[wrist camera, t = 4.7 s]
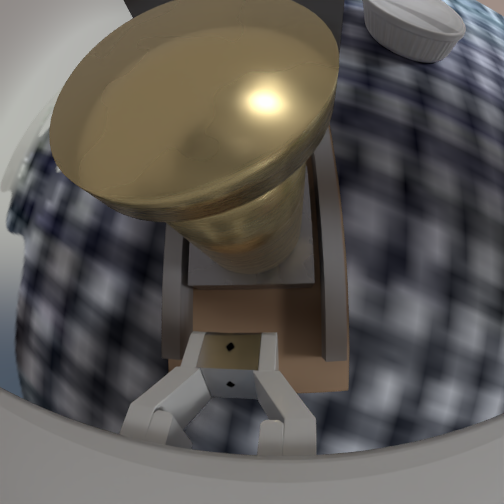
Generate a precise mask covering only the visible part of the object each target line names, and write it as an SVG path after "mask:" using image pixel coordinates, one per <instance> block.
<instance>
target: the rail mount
mask: <svg viewBox="0 0 504 504" xmlns="http://www.w3.org/2000/svg"><path fill="white" fill-rule="evenodd" d="M170 1H173V0H124V2H125V4H126V6H127V8H128V9H129V11H130V13H131V15H132V17H133V18H135V17H136V16H138V15H140V14H142V13H144V12H146V11H148V10H150V9H152V8H155V7H157V6H160V5H162V4H165V3H167V2H170ZM292 1H294V2H296V3H298V4H300V5H302V6H304V7H306V8H307V9H309V10H310V11H312V12H313V13H315V14H316V15H317V16H318V17H319V18H320V19H321V20H323V21H324V23H325V24H326V25H327V26H328V28H329V29H330V30H331V32H332V34H333V36H334V38H335V40H336V42H337V47H338V51H340V42H341V32H342V21H343V10H344V0H292ZM306 166H307V172H308V183H309V195H310V208H311V222H312V238H313V256H314V279H315V283H314V285H313V286H312V288H286V289H238V290H199V289H197V288H194V287H191V286H188V267H189V244H190V242H189V241H188V240H187V239H186V238H184V237H183V236H182V235H181V234H179V233H178V232H177V231H176V230H174V229H173V228H172V227H171V226H169V225H168V224H167V223H166V234H165V248H164V265H163V287H162V358H164V359H168V367H169V372H170V371H172V370H173V369H174V368H175V367H176V366H177V367H180V366H181V363H182V359H183V356H184V353H185V350H186V347H187V344H188V341H189V338H190V335H191V333H192V332H193V331H198V332H220V333H273V332H276V333H277V335H278V360H279V370H278V371H280V372H281V373H282V375H283V376H284V377H285V379H286V380H287V381H288V383H289V384H290V385H291V387H292V388H293V389H294V391H295V392H296V393H317V392H334V391H347V390H348V385H349V306H348V282H347V265H346V251H345V238H344V227H343V217H342V207H341V199H340V190H339V182H338V175H337V168H336V161H335V154H334V148H333V141H332V135H331V130H330V124H329V126H328V129H327V131H326V133H325V135H324V137H323V139H322V141H321V142H320V144H319V145H318V147H317V148H316V150H315V151H314V153H313V154H312V155H311V156H310V157H309V159H308V160H307V161H306Z"/></svg>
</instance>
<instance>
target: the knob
mask: <svg viewBox="0 0 504 504" xmlns="http://www.w3.org/2000/svg"><path fill="white" fill-rule="evenodd" d="M338 71H339V51H338V47H337V42H336V40H335V38H334V36H333V34H332V32H331V30H330V29H329V28H328V26H327V25H326V24H325V23H324V21H323V20H321V19H320V18H319V17H318V16H317V15H316V14H315V13H313V12H312V11H310V10H309V9H307V8H306V7H304V6H302V5H300V4H298V3H296V2H294V1H292V0H173V1H170V2H167V3H165V4H162V5H160V6H157V7H155V8H152V9H150V10H148V11H146V12H144V13H142V14H140V15H138V16H136V17H135V18H133V19H131V20H130V21H128V22H126V23H125V24H123V25H122V26H120V27H119V28H117V29H116V30H114V31H113V32H112V33H110V34H109V35H108V36H107V37H105V38H104V39H103V40H102V41H101V42H99V43H98V44H97V45H96V46H95V47H94V48H93V49H92V50H91V51H90V52H89V53H88V54H87V55H86V56H85V57H84V58H83V60H82V61H81V62H80V63H79V64H78V66H77V67H76V68H75V69H74V71H73V72H72V74H71V75H70V77H69V78H68V80H67V81H66V83H65V85H64V87H63V88H62V90H61V92H60V94H59V97H58V99H57V101H56V104H55V107H54V110H53V114H52V117H51V123H50V146H51V151H52V155H53V157H54V160H55V162H56V164H57V166H58V167H59V169H60V170H61V171H62V173H63V174H64V175H65V176H66V177H67V178H69V179H70V180H71V181H72V182H73V183H75V184H76V185H78V186H79V187H80V188H82V189H83V190H85V191H86V192H88V193H89V194H91V195H92V196H94V197H95V198H96V199H98V200H99V201H101V202H102V203H104V204H105V205H107V206H108V207H110V208H111V209H113V210H115V211H117V212H119V213H121V214H123V215H126V216H130V217H133V218H136V219H139V220H146V221H154V222H166V223H167V224H168V225H169V226H171V227H172V228H173V229H174V230H176V231H177V232H178V233H179V234H181V235H182V236H183V237H184V238H186V239H187V240H188V241H189V242H190V244H189V267H188V286H191V287H194V288H197V289H199V290H238V289H286V288H312V286H313V285H314V283H315V279H314V256H313V238H312V222H311V208H310V195H309V183H308V172H307V166H306V161H307V160H308V159H309V157H310V156H311V155H312V154H313V153H314V151H315V150H316V148H317V147H318V145H319V144H320V142H321V141H322V139H323V137H324V135H325V133H326V131H327V129H328V126H329V124H330V120H331V116H332V112H333V107H334V100H335V93H336V86H337V78H338Z"/></svg>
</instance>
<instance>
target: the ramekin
mask: <svg viewBox="0 0 504 504" xmlns="http://www.w3.org/2000/svg"><path fill="white" fill-rule="evenodd" d="M362 1H363V8H364V20H365V25H366V27H367V30H368V31H369V33H370V34H371V35H372V37H373V38H374V39H375V40H376V41H377V42H378V43H380V44H381V45H382V46H384V47H385V48H387V49H388V50H390V51H392V52H394V53H396V54H398V55H400V56H403V57H405V58H408V59H411V60H414V61H419V62H425V63H433V62H438V61H441V60H443V59H444V58H446V57H447V56H448V55H449V53H450V52H451V50H452V49H453V47H454V46H455V45H456V43H457V42H458V40H460V39H461V38H462V37H463V36H464V34H465V30H466V29H465V24H464V22H463V20H462V19H461V17H460V16H459V15H458V14H457V13H456V12H455V11H454V10H453V9H452V8H451V7H450V6H448V5H447V4H446V3H444V2H443V1H441V0H362Z"/></svg>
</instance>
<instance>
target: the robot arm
mask: <svg viewBox="0 0 504 504" xmlns="http://www.w3.org/2000/svg"><path fill="white" fill-rule="evenodd" d="M278 370H279V360H278V335H277V333H276V332H273V333H220V332H198V331H193V332H192V333H191V335H190V338H189V341H188V344H187V347H186V350H185V353H184V356H183V359H182V363H181V366H180V367H177V366H176V367H175V368H174V369H173V370H172V371H170V372H169V373H168V374H167V375H165V376H164V377H163V378H162V379H161V380H159V381H158V382H157V383H156V384H155V385H153V386H152V387H151V388H150V389H148V390H147V391H146V392H145V393H143V394H142V395H141V396H140V397H139V398H137V399H136V400H135V401H134V402H132V403H131V404H130V407H129V409H128V412H127V415H126V417H125V420H124V423H123V425H122V428H121V431H120V434H116V433H113V432H109V431H106V430H103V429H99V428H96V427H93V426H90V425H87V424H84V423H81V422H78V421H75V420H72V419H70V418H67V417H64V416H62V415H59V414H57V413H54V412H52V411H49V410H47V409H45V408H42V407H40V406H38V405H35V404H33V403H31V402H29V401H27V400H25V399H22V398H20V397H18V396H16V395H14V394H12V393H10V392H8V391H6V390H5V389H3V388H1V387H0V504H504V413H503V414H501V415H498V416H496V417H493V418H491V419H488V420H486V421H483V422H480V423H477V424H475V425H472V426H469V427H466V428H463V429H460V430H456V431H453V432H450V433H446V434H443V435H439V436H436V437H432V438H428V439H424V440H420V441H415V442H411V443H406V444H401V445H396V446H390V447H385V448H379V449H372V450H365V451H357V452H348V453H338V454H325V455H316V418H315V417H314V416H313V414H312V413H311V412H310V410H309V409H308V408H307V406H306V405H305V404H304V403H303V401H302V400H301V399H300V397H299V396H298V395H297V393H296V392H295V391H294V389H293V388H292V387H291V385H290V384H289V383H288V381H287V380H286V379H285V377H284V376H283V375H282V373H281V372H280V371H278ZM211 397H227V398H246V399H258V401H259V403H260V404H261V406H262V408H263V410H264V411H265V413H266V415H267V416H268V418H269V420H264V421H263V422H262V423H261V425H260V434H259V443H258V452H257V455H240V454H228V453H217V452H208V451H200V450H193V449H191V448H192V442H191V441H190V439H189V438H188V436H187V435H186V434H185V432H184V431H183V429H184V428H185V427H186V426H187V425H188V424H189V423H190V421H191V420H192V419H193V418H194V417H195V416H196V415H197V414H198V413H199V412H200V410H201V409H202V408H203V407H204V406H205V405H206V404H207V403H208V401H209V400H210V399H211Z"/></svg>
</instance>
